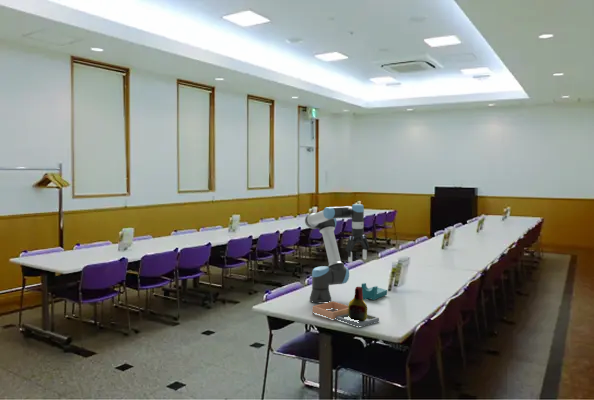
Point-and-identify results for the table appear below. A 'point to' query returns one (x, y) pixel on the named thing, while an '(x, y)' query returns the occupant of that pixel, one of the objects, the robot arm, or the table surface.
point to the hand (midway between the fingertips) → (357, 260)
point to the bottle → (357, 306)
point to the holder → (322, 308)
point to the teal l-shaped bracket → (372, 292)
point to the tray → (368, 320)
